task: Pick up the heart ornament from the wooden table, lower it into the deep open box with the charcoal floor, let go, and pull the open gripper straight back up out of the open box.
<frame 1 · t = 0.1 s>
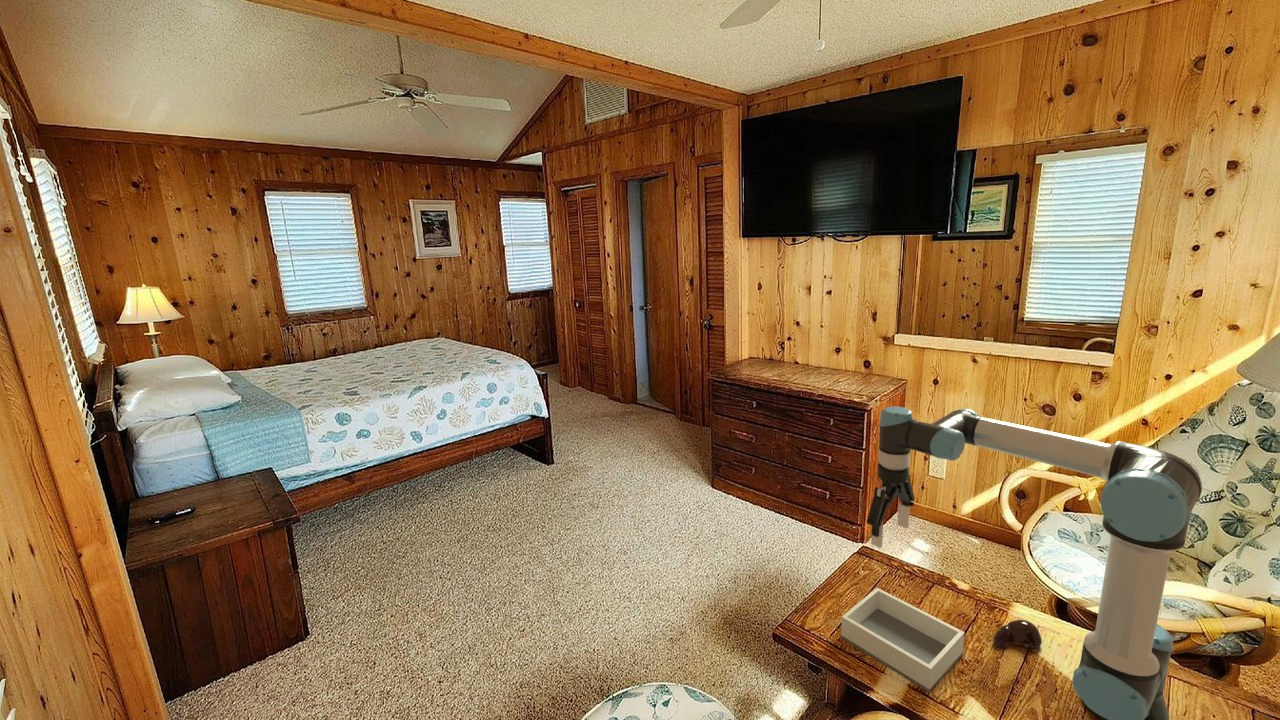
hand: (890, 535, 148), 28 cm above the table, fingers open, 13 cm apart
open box: (900, 646, 145), on the table
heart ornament: (1014, 641, 145), on the table
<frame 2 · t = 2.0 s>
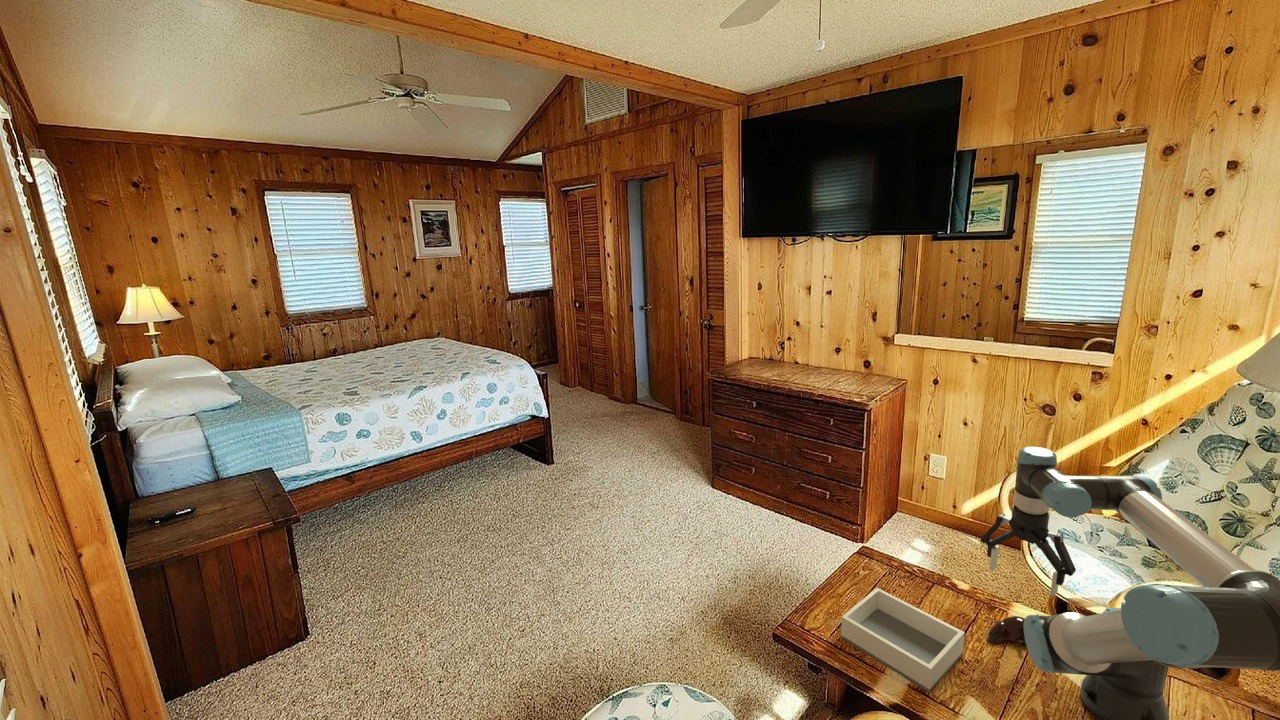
hand: (1022, 580, 140), 19 cm above the table, fingers open, 13 cm apart
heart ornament: (1009, 637, 146), on the table
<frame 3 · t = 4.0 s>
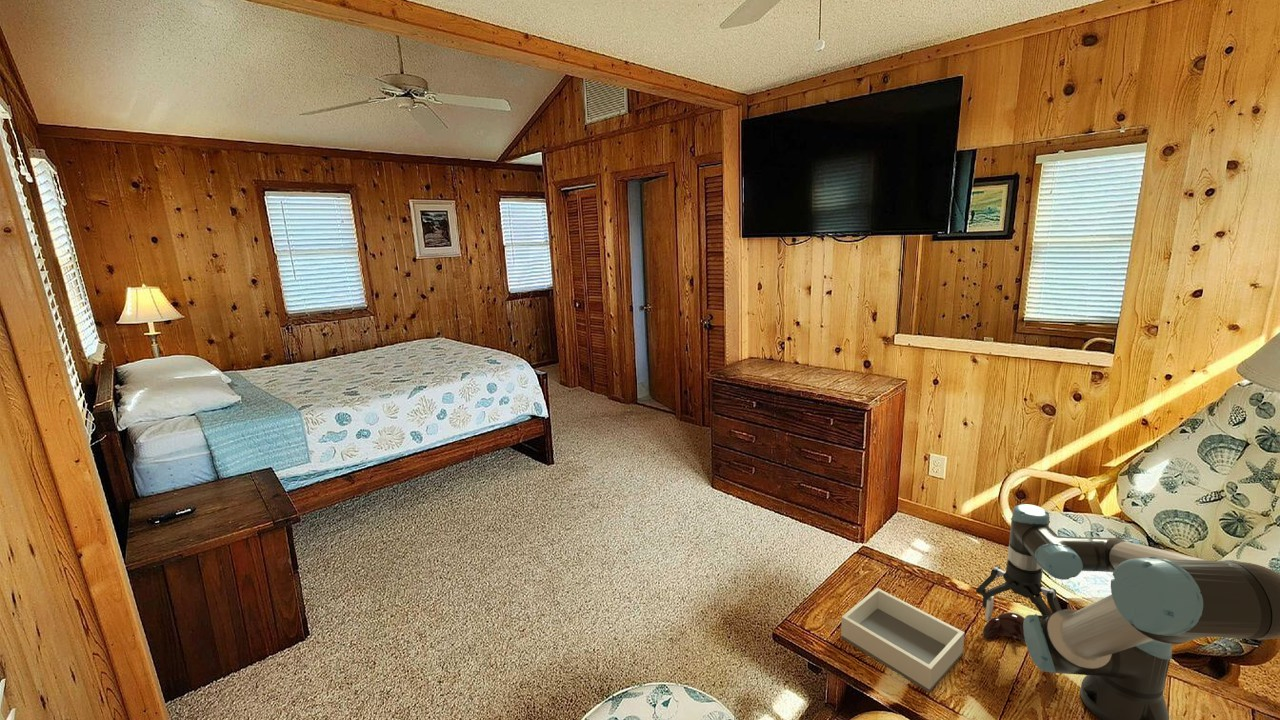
hand: (1016, 632, 144), 3 cm above the table, fingers open, 13 cm apart
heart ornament: (1004, 633, 148), on the table, touching gripper
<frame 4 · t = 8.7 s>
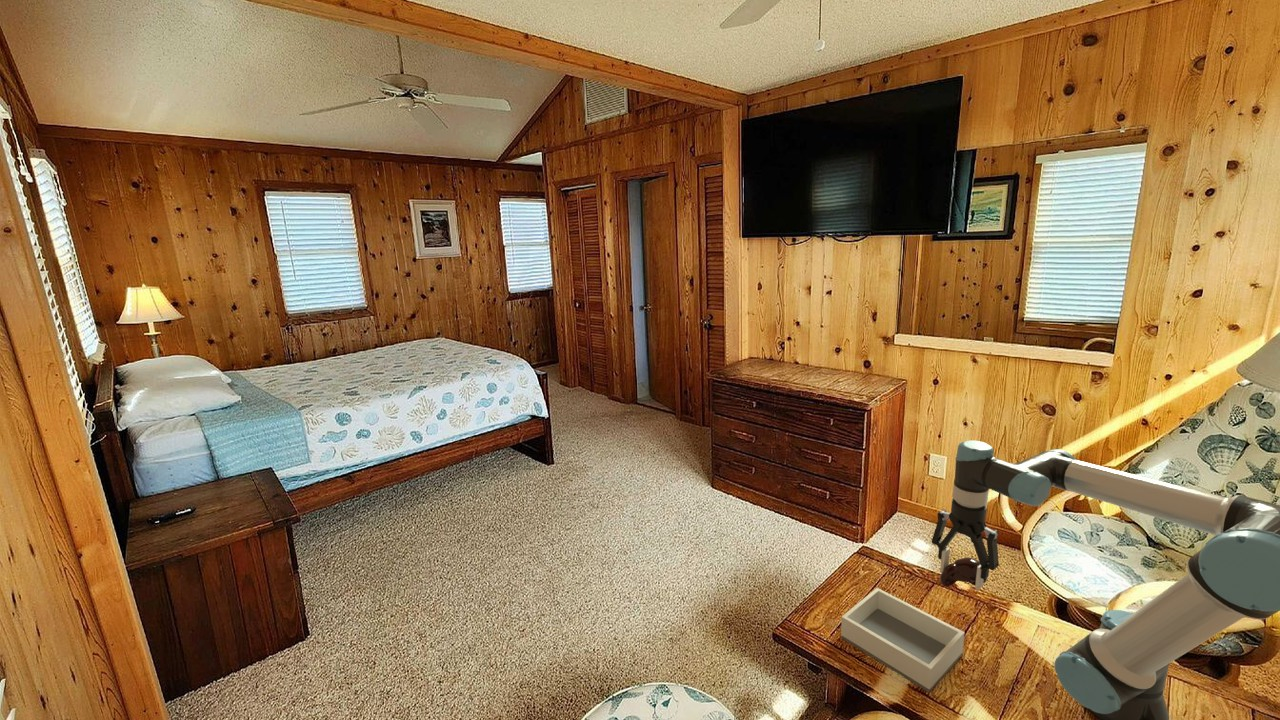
hand: (961, 578, 141), 20 cm above the table, fingers closed on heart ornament, 8 cm apart
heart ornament: (960, 579, 143), point 18 cm above the table, touching gripper
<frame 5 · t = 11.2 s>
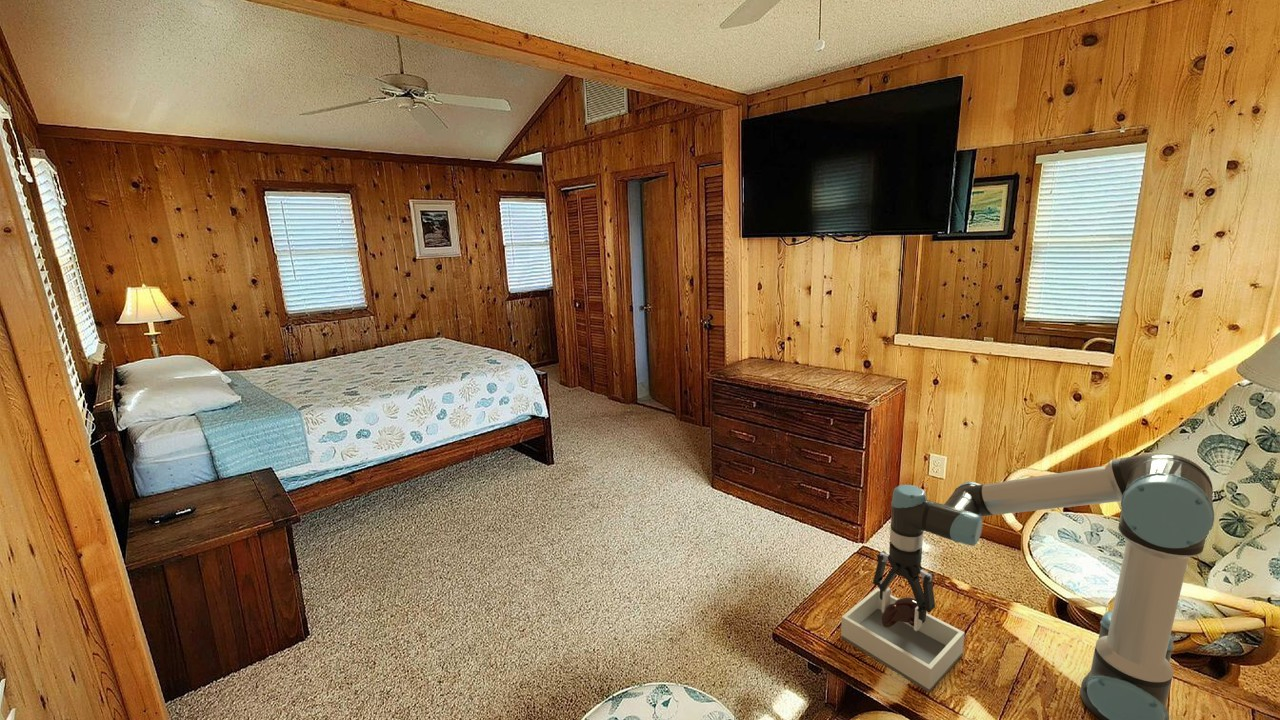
hand: (901, 619, 143), 9 cm above the table, fingers closed on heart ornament, 8 cm apart
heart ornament: (901, 619, 145), point 7 cm above the table, touching gripper
when the fingers open (4 cm above the table, at t = 12.8 s): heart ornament stays where it is, resting on open box.
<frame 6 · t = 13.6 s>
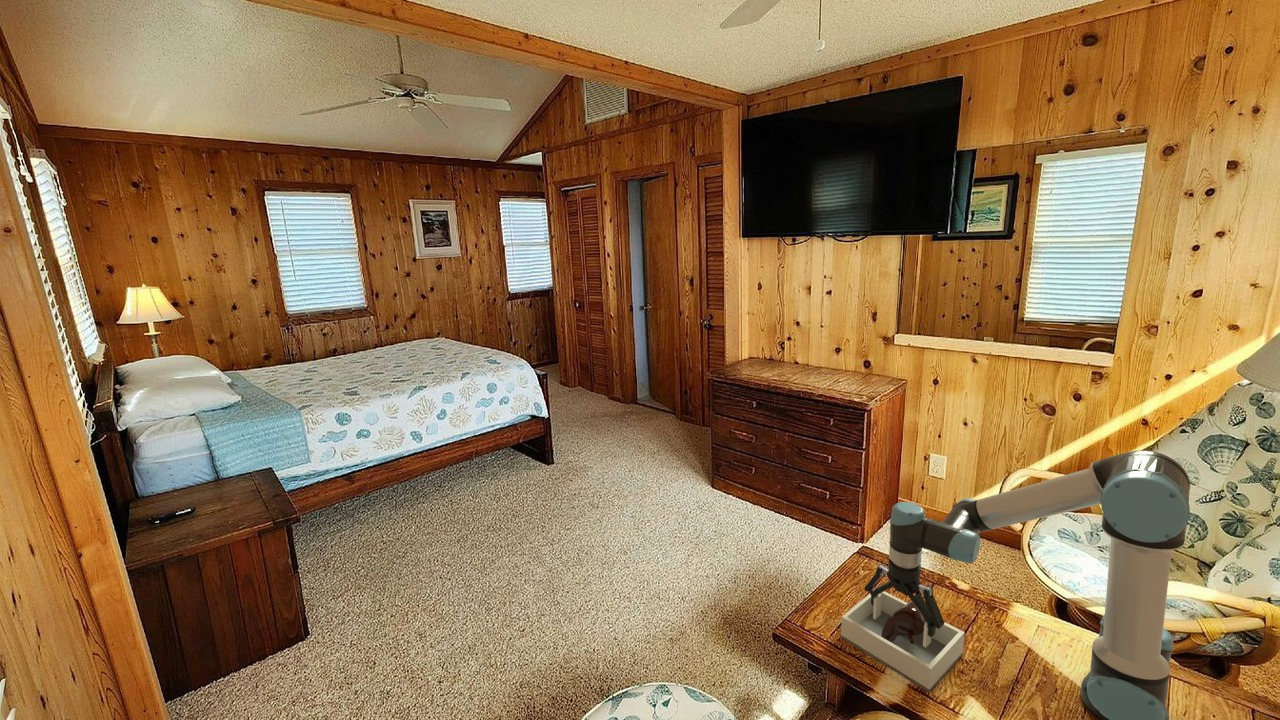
hand: (900, 629, 144), 5 cm above the table, fingers open, 13 cm apart
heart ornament: (902, 627, 147), point 4 cm above the table, touching open box
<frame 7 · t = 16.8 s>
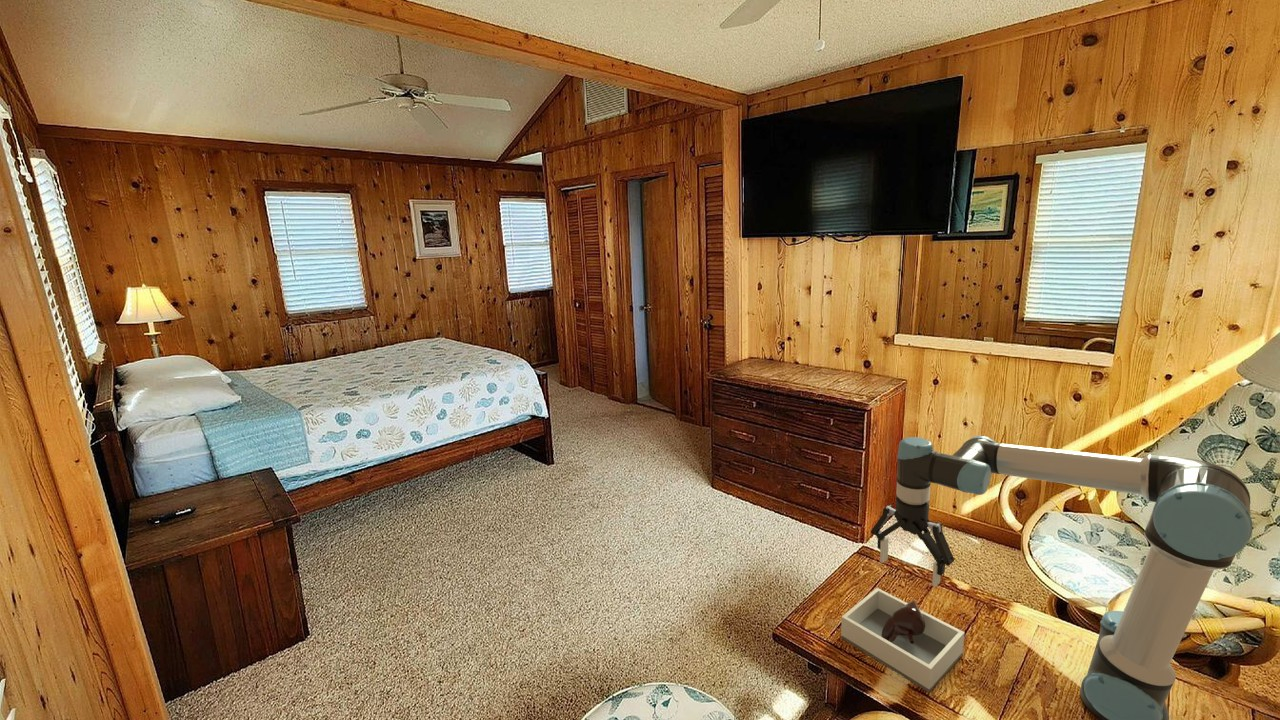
hand: (909, 571, 140), 23 cm above the table, fingers open, 13 cm apart
nothing on the table moved.
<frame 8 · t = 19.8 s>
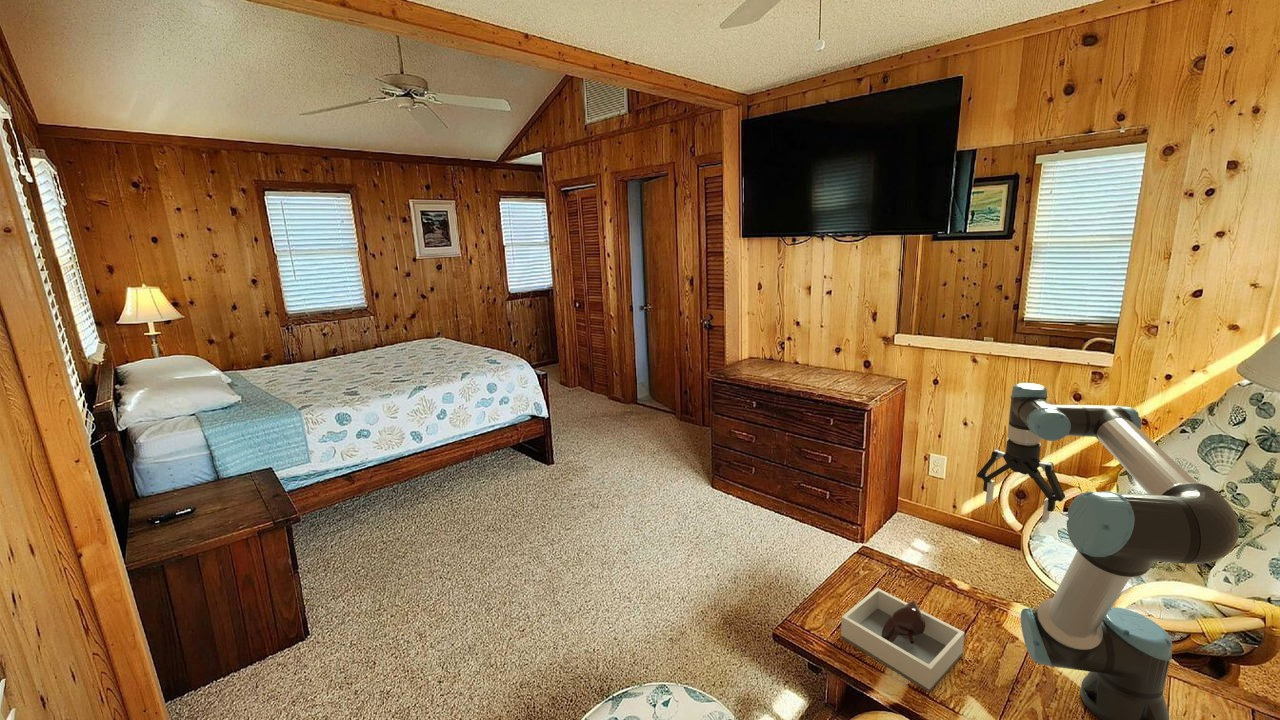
hand: (1016, 511, 150), 31 cm above the table, fingers open, 13 cm apart
nothing on the table moved.
at the end: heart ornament inside the target area on the open box (2.8 cm from its centre), point 3.8 cm above the open box's base; the gripper is holding nothing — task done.
